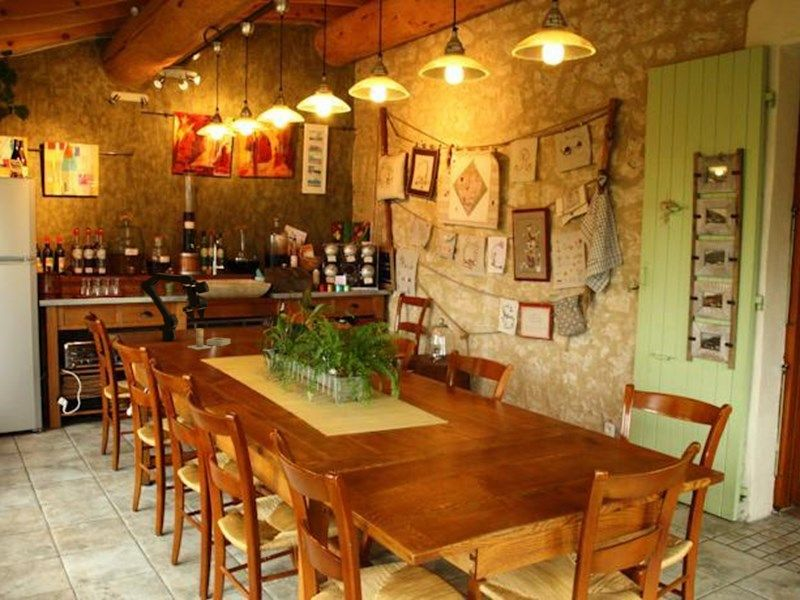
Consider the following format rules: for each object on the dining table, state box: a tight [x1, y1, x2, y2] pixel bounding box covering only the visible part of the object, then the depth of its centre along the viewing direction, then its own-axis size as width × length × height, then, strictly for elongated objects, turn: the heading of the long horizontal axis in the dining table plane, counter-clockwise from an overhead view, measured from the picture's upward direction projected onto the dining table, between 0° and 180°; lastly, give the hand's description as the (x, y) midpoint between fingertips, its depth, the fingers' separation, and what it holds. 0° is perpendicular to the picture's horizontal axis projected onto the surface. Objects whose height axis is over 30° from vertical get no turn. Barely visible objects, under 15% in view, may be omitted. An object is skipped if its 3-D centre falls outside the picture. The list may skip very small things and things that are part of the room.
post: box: [195, 328, 205, 347], centre depth 442 cm, size 4×4×10 cm
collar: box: [205, 337, 231, 347], centre depth 457 cm, size 10×10×3 cm
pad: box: [186, 344, 213, 351], centre depth 443 cm, size 10×10×1 cm
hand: (198, 321), depth 463 cm, fingers open, 9 cm apart
